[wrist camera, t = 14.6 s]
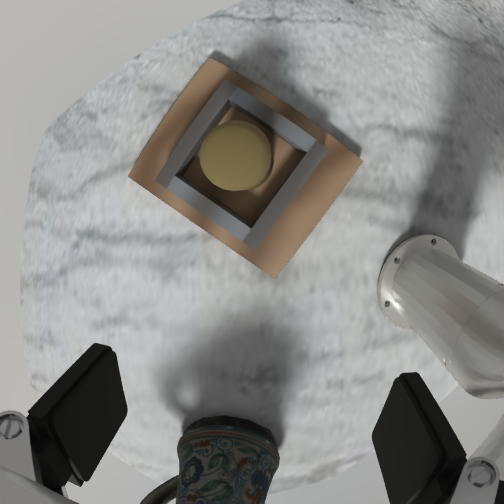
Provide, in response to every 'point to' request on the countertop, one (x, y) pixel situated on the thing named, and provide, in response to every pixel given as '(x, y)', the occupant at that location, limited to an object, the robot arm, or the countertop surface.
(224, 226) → the shaker holder
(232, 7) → the countertop surface
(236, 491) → the beer stein
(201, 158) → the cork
